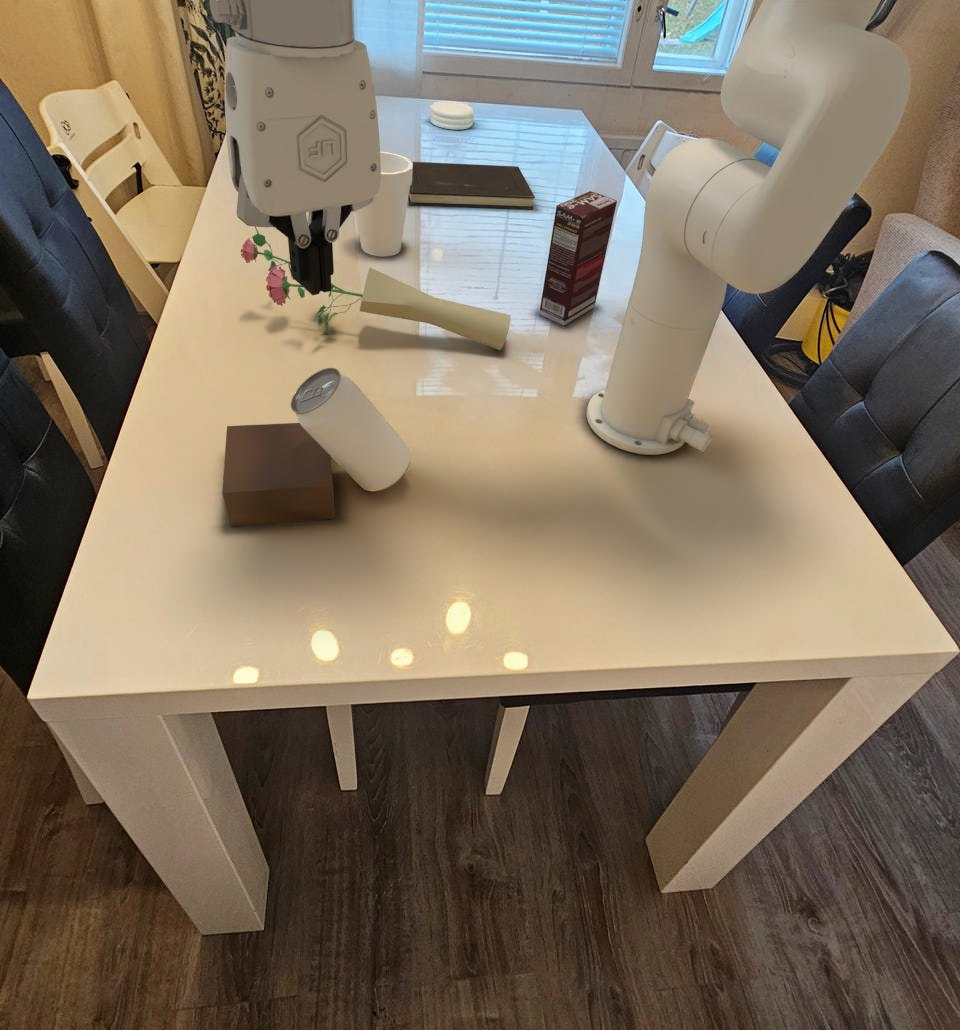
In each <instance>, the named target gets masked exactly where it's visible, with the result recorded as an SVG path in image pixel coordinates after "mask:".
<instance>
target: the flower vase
mask: <svg viewBox="0 0 960 1030" xmlns="http://www.w3.org/2000/svg"><path fill="white" fill-rule="evenodd" d="M257 228H258V227H255V226H254V229H255V230H256V233H255V234H254V235H253V236H251V238H250V237H248V238H247V239H246V240H245V241H244V242H243V243H242V248H241V249H240V256H241V258H242V259H244V261H245V263H247V264H250V263H251V262H252V261H255V263H257V258H258V256H259V255H261V256H264V258H265V259H266V261H268V262H269V261H270V266H269V268H268V270H267V272H268V273H267V276H266V279H265V281H266V283H267V284H266V287H265V289H266V291H268V292H269V293H268V297H269V298H270V299H271V300H272V301H273V303H274V304H275V303H276V305H277V306H281V307H283V304H286V299H289V300H291V297H290V295H289V294H290V291H291V288H290V287H292V288H293V287H294V288H295V287H296V288H297V289H296V291H297V293H298V295H299V297H300V299H304V298H305V293H306V291H307V290H306V289H305V288H304V287H303V286H302V285H301V284H294V283H290V282H289V281H288V276H287V275H286V270H285V269H284V268H282V266H283V265H286V264H288V269H289V272H290V277H291V278H292V280H293V281H296V280H295V279H294V278H293V276H292V273H291V266H290V261H289V260H286V259H284V258H282V257H278V256H276V255H273V249H272V246H271V244H269V243H268V241H267V240H266V236H265V235H264V234H260V232H259V230H258V229H257ZM250 239H252V240H250ZM265 244H266V245H268V247H269V249H270V250H268V249H263V252H260V251H259V249H258V247H260V248H261V247H263V246H265ZM257 246H258V247H257ZM278 260H279V261H282V262H283V263H281V262H279V261H278ZM275 261H276V262H277V263H278V264H276V262H275ZM303 288H304V289H303ZM321 292H322V293H324V292H323V291H321ZM332 293H338V294H339V293H340V295H338V296H336V297H335V298H333V297H334V296H333V295H332ZM342 295H347V296H348V295H349V296H355V297H359V298H358V299H357V300H356V301H354V302H352V303H348V304H345V305H342V307H346V306H349V307H348V308H347V309H346V310H344V313H346V312H348V310H349V309H350V307H351V306H352V305H353V304H355V303H357V302H358V301H359V300H361V301H360V306H359V312H361V313H367V314H373V315H377V316H378V315H380V316H384V317H390V318H397V319H402V320H406V321H407V320H408V321H414V322H420V323H425V324H429V325H432V326H435V327H437V328H440V329H442V330H443V329H444V330H446V331H448V332H451V333H453V334H456V335H458V336H461V337H463V338H466V339H468V340H472V341H474V342H477V343H479V344H481V345H484V346H487V347H489V348H492V349H495V350H496V351H497V350H498V351H501V350H502V349H503V347H504V345H505V342H506V340H507V336H508V335H509V334H508V333H509V330H510V327H511V326H510V325H511V315H510V314H508V313H504V312H499V311H496V310H495V311H494V310H492V309H491V310H490V309H486V308H483V307H482V308H481V307H478V306H472V305H469V304H464V303H460V302H455V301H451V300H447V299H443V298H438V297H435V296H434V295H433V296H432V295H430V294H428V293H426V292H424V291H421V290H420V289H418V288H415V287H413V286H411V285H409V284H407V283H404V282H402V281H400V280H398V279H396V278H394V277H392V276H390V275H387V274H385V273H383V272H380V271H379V270H377V269H374V268H372V267H369V269H368V272H367V275H366V280H365V284H364V288H363V293H358V292H352V291H347V290H344V289H343V288H341V287H338V286H336V285H335V284H333V283H332V282H331V291H329V292H328V298H330V297H331V299H332V302H331V304H329V306H328V307H326V306H325V304H322V305H321V306H320V307H319V309H318V311H317V312H316V314H315V317H314V319H313V320H312V322H313V323H314V322H315V320H316V318H317V319H320V318H321V316H322V315H323V313H325V312H326V311H328V310H329V311H328V313H327V314H325V316H324V318H323V319H324V320H323V322H324V325H323V327H322V328H323V329H324V328H325V330H326V332H327V334H328V336H329V335H330V327H329V321H330V320H331V319H332V317H334V316H337V315H339V314H341V313H343V311H339V312H333V313H332V314H331V315H330V316H329V314H330V313H331V310H332V308H337V307H339V305H333V306H332V304H333V303H334V302H335V300H337V299H338V298H339V297H340V296H342ZM360 298H361V299H360ZM325 309H326V310H325Z"/></svg>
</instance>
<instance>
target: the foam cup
mask: <svg viewBox="0 0 960 1030" xmlns="http://www.w3.org/2000/svg"><path fill="white" fill-rule="evenodd" d="M380 160H381V180H380V188H379V190H378V192H377V193H376V194H375V195H374V196H373V201H372V202H371V203H370V204H369V205H367V206H365V207H363V208H361V209H359V210H356V211H355V216H356V222H357V229H358V234H359V235H358V236H359V242H360V247H361V249H362V251H363V252H364V253H366V254H367V255H371V256H375V257H392V256H395V255H397V254H399V253H400V252H401V249H402V243H403V237H404V236H403V235H404V230H405V222H406V216H407V211H408V210H407V209H408V204H409V200H408V197H409V190H410V185H412V170H413V163H412V162H413V161H411V160H410V159H409V158H408V157H406V156H403V155H400V154H398V153H393V152H388V151H380Z"/></svg>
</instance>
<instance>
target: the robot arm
mask: <svg viewBox="0 0 960 1030" xmlns="http://www.w3.org/2000/svg"><path fill="white" fill-rule="evenodd" d="M881 1H882V0H762V1H761V4H760V5H759V7H758V9H757V11H756V12H755V15H754V16H753V19H752V21H751V22H750V24H749V25H748V27H747V30H746V31H745V33H744V36H743V37H742V39H741V41H740V43H739V45H738V47H737V48H736V50H735V53H734V54H733V56H732V59H731V61H730V63H729V64H728V67H727V69H726V72H725V74H724V78H723V81H722V84H721V88H720V104H721V107H722V110H723V112H724V114H725V116H726V117H727V118H728V120H730V121H731V122H732V123H733V124H734V125H735V126H736V127H738V128H739V129H740V130H743V131H744V132H746V133H747V134H748V135H750V136H752V137H754V138H755V139H758V140H759V141H761V142H762V143H765V144H767V145H769V146H771V147H772V148H774V149H776V150H778V151H779V153H778V154H777V156H776V158H775V160H774V162H773V164H772V165H771V166H769V165H768V164H766V163H765V162H763V160H760V159H758V158H757V157H755V156H753V155H751V154H749V153H748V152H746V151H744V150H742V149H741V148H738V147H737V146H735V145H733V144H731V143H728V142H726V141H723V140H721V139H720V140H719V139H715V138H710V137H699V138H693V139H690V140H686V141H684V142H682V143H680V144H678V145H677V146H675V147H674V148H673V149H671V150H670V151H669V152H668V153H667V154H666V155H665V156H664V157H663V158H662V160H661V161H660V162H659V163H658V165H657V167H656V168H655V170H654V172H653V175H652V177H651V179H650V182H649V186H648V189H647V193H646V198H645V203H644V212H643V213H644V214H643V226H642V229H643V230H642V238H641V239H642V240H641V247H640V254H639V259H638V264H637V269H636V272H635V277H634V281H633V285H632V289H631V292H630V296H629V299H628V303H627V306H626V309H625V310H626V311H625V314H624V318H623V321H622V325H621V329H620V332H619V337H618V340H617V344H616V347H615V351H614V355H613V359H612V362H611V366H610V370H609V374H608V377H607V381H606V385H605V388H603V389H601V390H600V391H597V392H596V393H595V394H593V396H592V397H591V398H590V399H589V401H588V404H587V407H586V412H585V413H586V415H585V416H586V421H587V422H588V425H589V427H590V428H591V430H592V431H593V432H594V433H595V434H596V435H597V436H598V437H599V438H600V439H602V440H603V441H604V442H606V443H608V444H609V445H611V446H613V447H616V448H618V449H620V450H622V451H625V452H627V453H632V454H638V455H646V456H653V455H656V456H657V455H658V456H659V455H663V454H668V453H670V452H671V453H672V452H674V451H676V450H678V449H680V448H681V447H682V446H683V445H684V444H685V443H686V444H688V445H689V446H691V447H692V448H694V449H697V450H698V451H700V452H703V453H704V452H705V451H706V450H707V448H708V447H709V445H710V443H711V440H712V436H710V435H708V432H709V431H710V429H711V424H709V423H707V422H705V421H703V420H700V419H698V418H696V417H695V416H694V413H692V410H693V408H694V406H695V401H694V400H692V399H690V395H691V392H692V389H693V386H694V383H695V381H696V378H697V375H698V372H699V370H700V367H701V364H702V362H703V360H704V356H705V354H706V351H707V348H708V345H709V343H710V340H711V337H712V335H713V332H714V329H715V327H716V324H717V321H718V320H719V316H720V314H721V312H722V308H723V306H724V302H725V299H726V294H727V288H728V285H730V286H731V287H733V288H735V289H736V290H738V291H740V292H743V293H747V294H752V295H760V294H765V293H769V292H771V291H774V290H777V289H778V288H780V287H781V286H783V285H785V284H786V283H787V282H788V281H790V280H791V279H792V278H793V277H794V276H796V274H797V273H798V272H799V271H800V270H801V268H803V266H804V265H805V264H806V263H807V262H808V261H809V259H810V257H812V256H813V254H814V253H815V251H816V250H817V249H818V247H819V246H820V244H821V243H822V242H823V240H824V239H825V237H826V236H827V234H828V233H829V232H830V230H831V229H832V227H833V226H834V225H835V223H836V221H837V220H838V219H839V217H840V216H841V214H842V213H843V211H844V210H845V209H846V207H847V206H848V204H849V202H850V201H851V200H852V199H853V197H854V195H855V194H856V192H858V190H859V188H860V186H862V184H863V182H864V181H865V179H866V178H867V177H868V175H869V174H870V172H871V171H872V169H873V168H874V167H875V165H876V163H877V162H878V160H880V157H882V154H883V153H884V151H886V148H887V147H888V145H889V144H890V142H891V140H892V139H893V137H894V135H895V133H896V131H897V129H898V128H899V126H900V123H901V120H902V118H903V116H904V115H905V111H906V107H907V104H908V101H909V97H910V93H911V92H910V91H911V86H912V85H911V84H912V74H911V73H912V72H911V66H910V62H909V60H908V58H907V56H906V53H904V51H903V50H902V48H901V47H900V46H898V45H897V44H896V43H894V42H893V41H892V40H890V39H889V38H887V37H884V36H883V35H879V34H877V33H874V32H871V31H868V30H866V28H867V26H868V24H869V23H870V22H871V19H872V17H873V15H874V14H875V12H876V10H877V8H878V7H879V5H880V4H881ZM209 9H210V14H211V16H212V19H213V21H214V22H215V23H226V24H227V25H229V26H230V27H231V29H232V30H233V31H234V35H235V36H230V37H228V38H227V39H226V48H225V59H224V60H225V62H224V119H225V133H226V135H225V136H226V147H227V155H228V156H227V157H228V162H229V163H228V165H229V171H230V176H231V177H230V178H231V181H232V185H233V187H234V189H235V191H236V192H237V202H236V204H237V205H236V216H237V218H238V220H240V221H241V222H242V223H244V225H246V226H247V227H254V228H255V227H256V228H275V229H276V230H277V231H278V232H280V233H281V234H283V236H285V237H286V238H287V243H288V245H287V246H288V254H289V255H288V256H289V262H290V268H291V273H292V276H293V278H294V279H295V280H294V281H295V282H297V283H298V285H302V286H303V287H302V288H304V290H305V289H306V290H305V291H306V292H308V293H309V294H310V295H311V296H316V295H320V292H322V291H323V292H322V293H330V291H331V283H332V276H333V275H334V273H335V272H334V271H335V268H334V267H335V266H334V248H333V243H335V242H336V241H337V240H338V238H339V236H340V228H341V227H342V225H344V223H345V222H346V220H347V219H348V217H349V216H350V214H351V213H352V212H353V213H354V212H356V210H359V209H361V208H363V207H365V206H367V205H369V204H370V203H371V202H372V201H373V196H374V195H375V194H376V193H377V192H378V190H379V188H380V180H381V160H380V152H381V144H380V143H381V141H380V140H381V139H380V129H379V117H378V108H377V107H378V106H377V97H376V91H375V86H374V79H373V73H372V68H371V63H370V58H369V54H368V49H367V45H366V44H365V43H363V42H361V41H359V40H356V39H355V36H356V35H355V0H209ZM307 213H308V216H307ZM291 273H290V274H291ZM293 278H292V279H293ZM331 292H332V291H331Z"/></svg>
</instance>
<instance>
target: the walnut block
mask: <svg viewBox="0 0 960 1030" xmlns="http://www.w3.org/2000/svg"><path fill="white" fill-rule="evenodd" d="M225 435H226V436H225V447H224V448H225V449H224V463H223V474H222V476H223V477H222V490H221V494H222V498H223V502H224V508H225V513H226V518H227V521H228V526H229V527H240V526H256V525H268V524H269V525H270V524H281V523H282V524H283V523H284V524H285V523H295V522H296V523H297V522H308V521H309V522H310V521H323V520H335V519H336V512H335V510H336V509H335V496H334V495H335V494H334V482H333V473H332V471H333V470H332V459H331V458H332V457H331V456H330V455H329V454H328V453H327V452H326V451H325V450H324V449H323V448H322V447H321V446H320V445H319V444H318V442H317V441H316V440H315V439H314V438H313V437H312V436H311V435H310V434H309V433H308V432H307V431H306V430H305V429H304V428H303V427H302V426H301V424H300V423H299V422H287V423H265V424H263V423H262V424H245V425H244V424H242V425H241V424H240V425H226V433H225Z"/></svg>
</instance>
